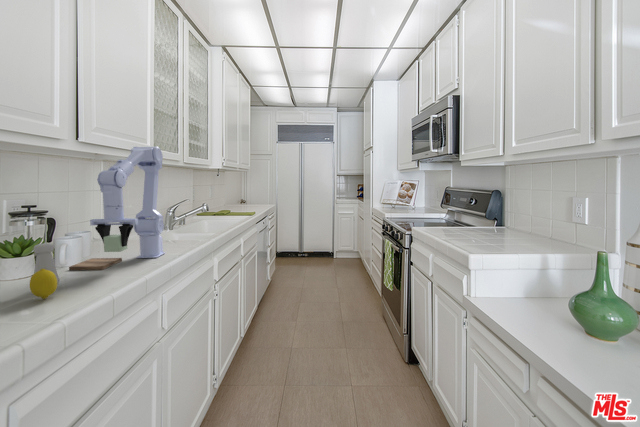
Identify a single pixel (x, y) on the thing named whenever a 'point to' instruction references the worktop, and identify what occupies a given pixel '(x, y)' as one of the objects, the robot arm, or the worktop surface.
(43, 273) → the lemon
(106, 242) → the green cube
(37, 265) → the salt shaker
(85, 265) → the cutting board
